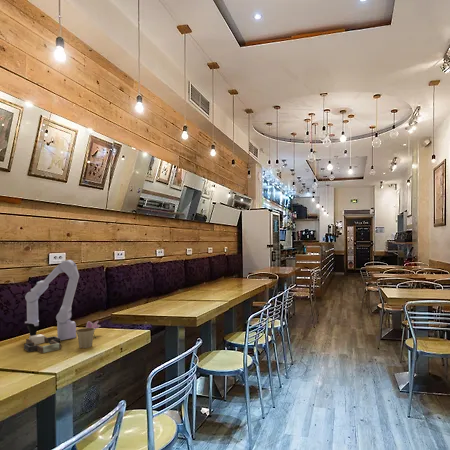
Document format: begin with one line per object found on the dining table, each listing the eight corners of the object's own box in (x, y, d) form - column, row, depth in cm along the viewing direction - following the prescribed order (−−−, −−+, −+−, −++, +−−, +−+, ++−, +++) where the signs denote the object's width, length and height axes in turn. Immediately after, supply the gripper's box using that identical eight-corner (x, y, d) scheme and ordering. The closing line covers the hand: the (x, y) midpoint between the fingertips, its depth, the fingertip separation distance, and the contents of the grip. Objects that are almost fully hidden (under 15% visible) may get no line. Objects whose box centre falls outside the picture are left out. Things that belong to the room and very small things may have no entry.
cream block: (41, 341, 212) (40, 334, 212) (44, 343, 207) (44, 335, 208) (29, 343, 208) (29, 336, 208) (32, 345, 203) (32, 337, 204)
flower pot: (99, 345, 198) (99, 328, 198) (85, 350, 189) (85, 332, 190) (85, 343, 202) (85, 327, 202) (71, 348, 193) (71, 331, 194)
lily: (104, 335, 222) (98, 321, 225) (105, 331, 213) (98, 316, 215) (84, 345, 217) (77, 330, 219) (84, 341, 207) (77, 325, 209)
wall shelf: (51, 338, 216) (51, 333, 216) (68, 347, 196) (68, 341, 196) (18, 345, 204) (18, 339, 204) (33, 354, 184) (33, 348, 184)
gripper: (21, 312, 216) (21, 336, 216) (28, 315, 206) (28, 340, 205) (34, 310, 221) (35, 334, 220) (42, 313, 210) (42, 338, 210)
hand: (33, 337), depth 213 cm, fingers closed
